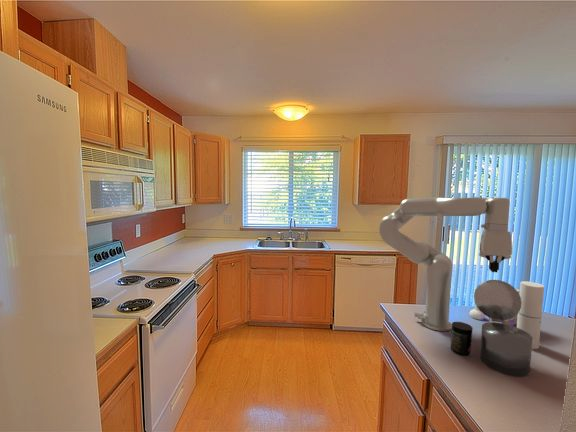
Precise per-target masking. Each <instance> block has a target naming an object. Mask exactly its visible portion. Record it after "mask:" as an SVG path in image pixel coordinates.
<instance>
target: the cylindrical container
mask: <svg viewBox="0 0 576 432" xmlns="http://www.w3.org/2000/svg"><path fill="white" fill-rule="evenodd" d="M519 290H520V293H519V295H520V297H521V302H522V304H521V309H520V311H519V313H518V317H517V325H516V328H519V329H521V330H523V331H525V332H527V333H528V334H530V335H531V336H532V350H537V349H539V348H540V338H541V329H542V328H541V327H542V318H543V316H542V315H543V306H544V305H543V303H544V295H545V294H544V293H545V285H544V284H542V283H538V282H533V281H527V280H526V281H525V280H524V281H520V283H519Z"/></svg>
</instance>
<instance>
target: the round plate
mask: <svg viewBox="0 0 576 432" xmlns="http://www.w3.org/2000/svg"><path fill="white" fill-rule="evenodd" d="M516 289H517V288H515V286H513V285H512V284H510V283H508V282H506V281H504V280H499V279H489V280H485V281H483V282H481V283H480V284H478V286H477V287H476V288H475V289H474V293H473V300H474V304H475V306H477V308H478V309H479V310H480V311H481V312H482V313H483V314H484V315H485V317H488V318H489V317H490V318H491V321H495V322H503V323H505V320H508V319H511V318H513V317H515V316H516V315H517V314H518V313H519V311H520V309H521V304H522V302H521V297H520V295H519V293H518V292H517V290H516Z"/></svg>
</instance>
